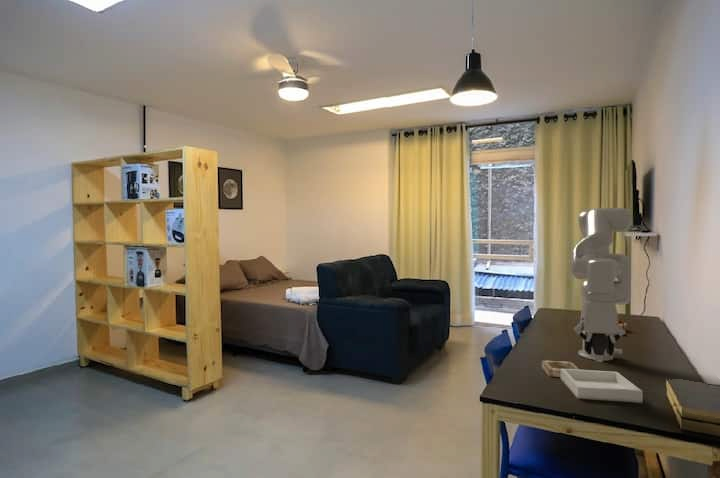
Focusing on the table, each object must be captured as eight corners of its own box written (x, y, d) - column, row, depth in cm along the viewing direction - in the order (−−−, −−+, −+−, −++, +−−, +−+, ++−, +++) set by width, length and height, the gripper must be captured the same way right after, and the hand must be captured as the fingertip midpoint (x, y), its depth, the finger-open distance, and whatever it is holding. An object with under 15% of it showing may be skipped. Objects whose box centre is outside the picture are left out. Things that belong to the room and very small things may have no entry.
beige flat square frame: (571, 368, 158) (571, 362, 158) (580, 378, 147) (581, 371, 147) (542, 366, 159) (542, 360, 159) (549, 376, 149) (549, 369, 149)
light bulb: (585, 360, 139) (585, 329, 139) (601, 359, 139) (601, 329, 139) (596, 365, 133) (596, 333, 133) (612, 365, 134) (613, 333, 134)
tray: (616, 382, 144) (617, 371, 144) (642, 402, 126) (642, 391, 126) (560, 378, 147) (560, 368, 147) (577, 398, 129) (577, 387, 129)
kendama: (632, 339, 208) (625, 327, 225) (630, 327, 208) (623, 315, 224) (614, 340, 211) (608, 328, 228) (612, 328, 211) (606, 316, 227)
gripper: (623, 297, 138) (622, 352, 138) (567, 295, 141) (566, 349, 141) (634, 300, 131) (633, 358, 131) (574, 298, 134) (574, 355, 134)
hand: (598, 353), depth 136 cm, fingers closed on light bulb, 5 cm apart
